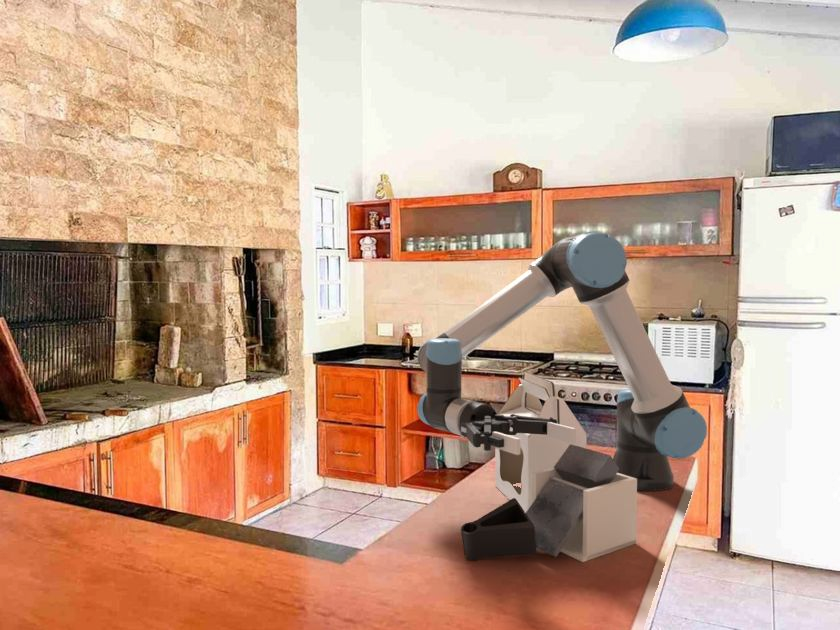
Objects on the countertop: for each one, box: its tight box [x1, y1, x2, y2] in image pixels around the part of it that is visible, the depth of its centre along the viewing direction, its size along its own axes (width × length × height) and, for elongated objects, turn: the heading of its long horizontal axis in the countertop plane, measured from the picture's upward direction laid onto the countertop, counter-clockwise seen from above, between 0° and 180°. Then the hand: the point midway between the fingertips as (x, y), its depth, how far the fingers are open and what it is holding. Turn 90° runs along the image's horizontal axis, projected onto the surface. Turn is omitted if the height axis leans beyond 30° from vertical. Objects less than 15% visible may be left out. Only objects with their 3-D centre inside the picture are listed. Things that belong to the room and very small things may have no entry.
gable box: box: [494, 372, 588, 513], centre depth 149 cm, size 22×13×28 cm, turn 12°
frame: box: [532, 468, 638, 563], centre depth 126 cm, size 14×14×12 cm
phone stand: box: [460, 498, 538, 562], centre depth 118 cm, size 9×6×12 cm
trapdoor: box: [526, 444, 619, 558], centre depth 123 cm, size 21×11×4 cm
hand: (547, 441), depth 116 cm, fingers open, 13 cm apart
